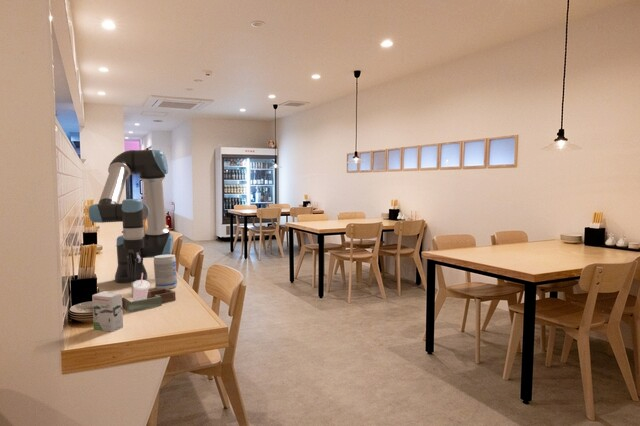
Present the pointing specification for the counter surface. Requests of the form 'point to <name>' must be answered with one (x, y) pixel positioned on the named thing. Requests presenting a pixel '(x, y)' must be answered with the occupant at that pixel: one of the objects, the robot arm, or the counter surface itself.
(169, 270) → the supplement tub
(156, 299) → the divided tray
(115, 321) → the ink box
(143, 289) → the beverage cup
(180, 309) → the counter surface
